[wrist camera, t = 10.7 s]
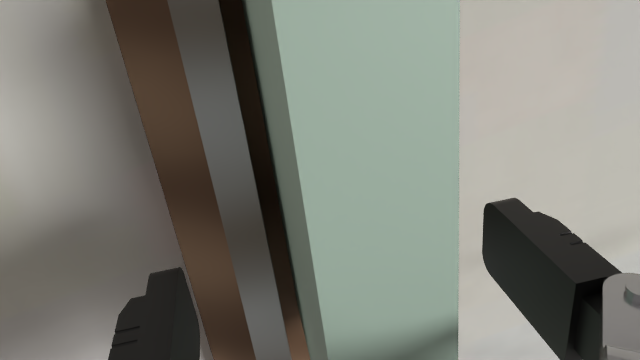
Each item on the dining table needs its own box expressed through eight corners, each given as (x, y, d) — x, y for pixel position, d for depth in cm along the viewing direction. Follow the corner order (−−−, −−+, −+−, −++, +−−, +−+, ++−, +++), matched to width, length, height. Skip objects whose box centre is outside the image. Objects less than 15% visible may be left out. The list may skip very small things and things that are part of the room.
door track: (67, -164, 14) (11, -204, 10) (409, -201, 15) (479, -250, 11) (228, 385, 24) (232, 475, 20) (426, 337, 25) (467, 412, 21)
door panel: (201, -63, 14) (188, -63, 6) (310, -77, 15) (459, -100, 6) (278, 311, 21) (330, 588, 12) (353, 293, 21) (457, 549, 12)
